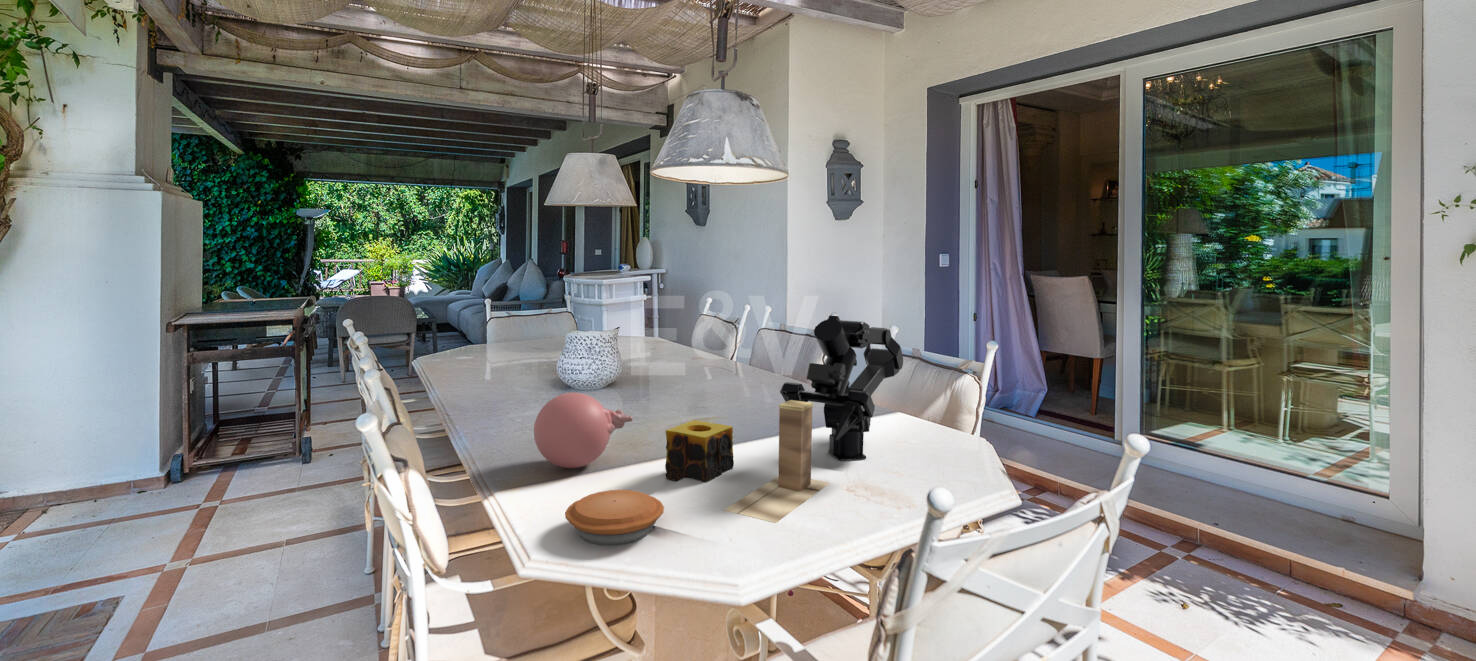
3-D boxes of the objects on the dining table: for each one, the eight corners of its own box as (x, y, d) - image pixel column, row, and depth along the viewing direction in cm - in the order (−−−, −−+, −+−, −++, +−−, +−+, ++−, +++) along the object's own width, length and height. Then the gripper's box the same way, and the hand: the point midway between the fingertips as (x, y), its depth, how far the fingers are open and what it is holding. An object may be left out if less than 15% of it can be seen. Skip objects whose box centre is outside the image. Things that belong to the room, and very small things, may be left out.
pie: (601, 506, 118) (601, 479, 117) (680, 520, 112) (680, 491, 112) (545, 541, 104) (544, 510, 103) (631, 559, 98) (631, 527, 97)
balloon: (635, 475, 134) (634, 399, 132) (530, 480, 130) (528, 403, 128) (632, 452, 149) (631, 384, 147) (538, 456, 145) (536, 387, 143)
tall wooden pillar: (789, 479, 128) (790, 399, 126) (811, 484, 126) (812, 402, 124) (777, 487, 124) (779, 404, 123) (800, 491, 122) (801, 407, 120)
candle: (706, 489, 127) (706, 438, 125) (663, 479, 132) (663, 430, 131) (734, 474, 135) (735, 426, 134) (694, 465, 140) (694, 419, 139)
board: (782, 479, 132) (783, 473, 132) (830, 488, 127) (830, 482, 127) (723, 516, 113) (723, 510, 113) (775, 529, 108) (776, 522, 108)
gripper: (784, 343, 138) (758, 407, 130) (871, 351, 129) (848, 420, 121) (800, 374, 146) (776, 436, 138) (883, 384, 137) (863, 450, 129)
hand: (813, 435), depth 131 cm, fingers open, 9 cm apart
